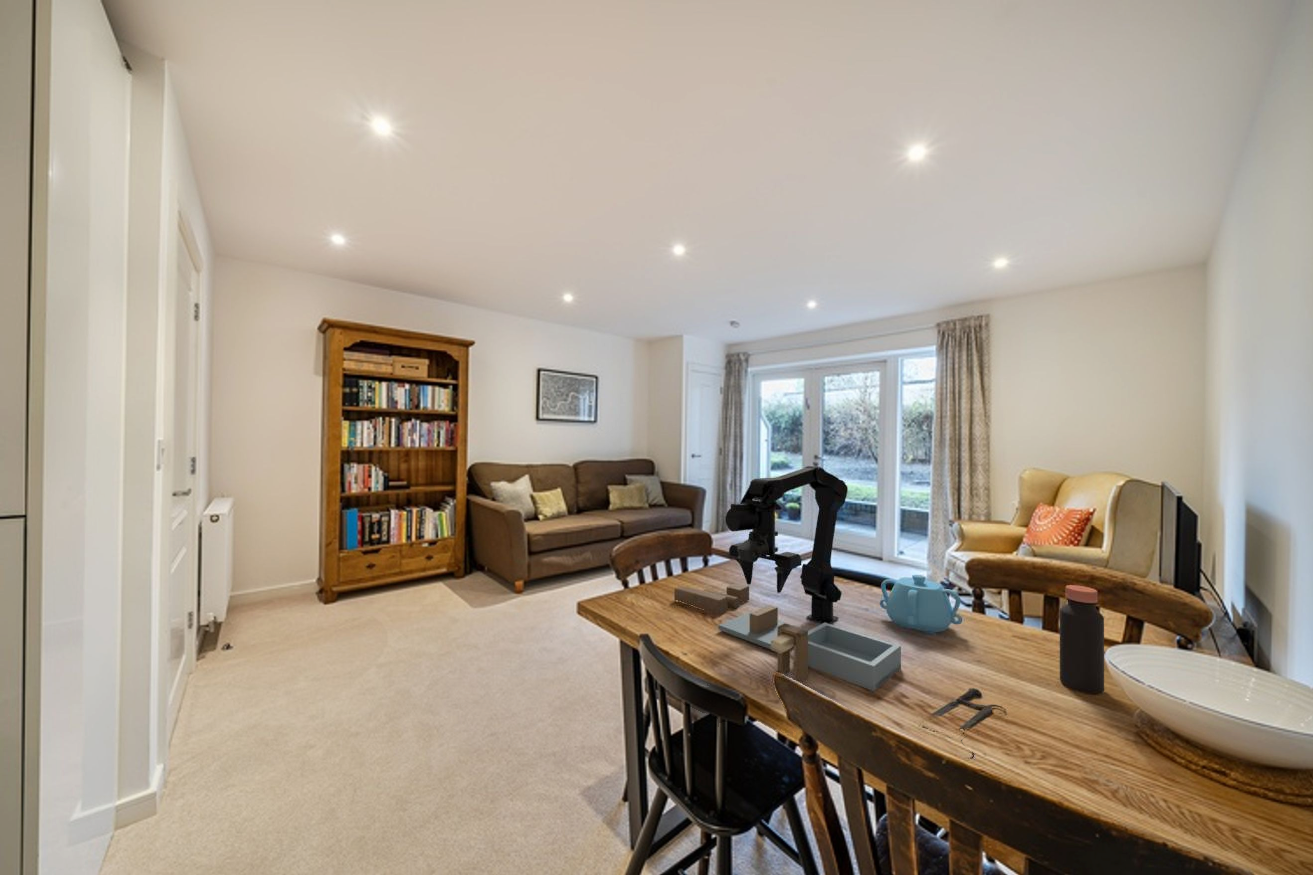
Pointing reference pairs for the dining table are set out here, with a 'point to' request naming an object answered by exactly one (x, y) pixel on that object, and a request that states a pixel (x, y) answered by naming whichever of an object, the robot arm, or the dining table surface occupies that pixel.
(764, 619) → the lid
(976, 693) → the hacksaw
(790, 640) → the wooden key
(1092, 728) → the dining table surface
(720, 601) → the wooden block set
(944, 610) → the decorative pot
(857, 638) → the toolbox
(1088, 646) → the bottle
